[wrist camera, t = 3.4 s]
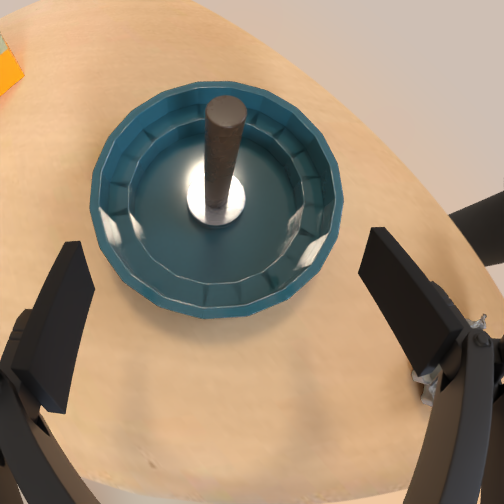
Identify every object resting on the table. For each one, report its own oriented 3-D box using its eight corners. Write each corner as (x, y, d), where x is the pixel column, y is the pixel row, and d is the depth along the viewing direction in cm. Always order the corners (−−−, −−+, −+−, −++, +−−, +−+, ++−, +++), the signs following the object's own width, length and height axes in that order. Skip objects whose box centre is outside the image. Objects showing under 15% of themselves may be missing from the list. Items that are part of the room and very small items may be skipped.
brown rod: (255, 207, 28) (299, 121, 14) (210, 241, 27) (216, 175, 13) (220, 166, 28) (234, 60, 14) (176, 198, 27) (153, 104, 13)
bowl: (357, 224, 30) (385, 207, 24) (199, 361, 26) (198, 375, 20) (232, 86, 31) (237, 52, 25) (75, 192, 26) (52, 169, 21)
